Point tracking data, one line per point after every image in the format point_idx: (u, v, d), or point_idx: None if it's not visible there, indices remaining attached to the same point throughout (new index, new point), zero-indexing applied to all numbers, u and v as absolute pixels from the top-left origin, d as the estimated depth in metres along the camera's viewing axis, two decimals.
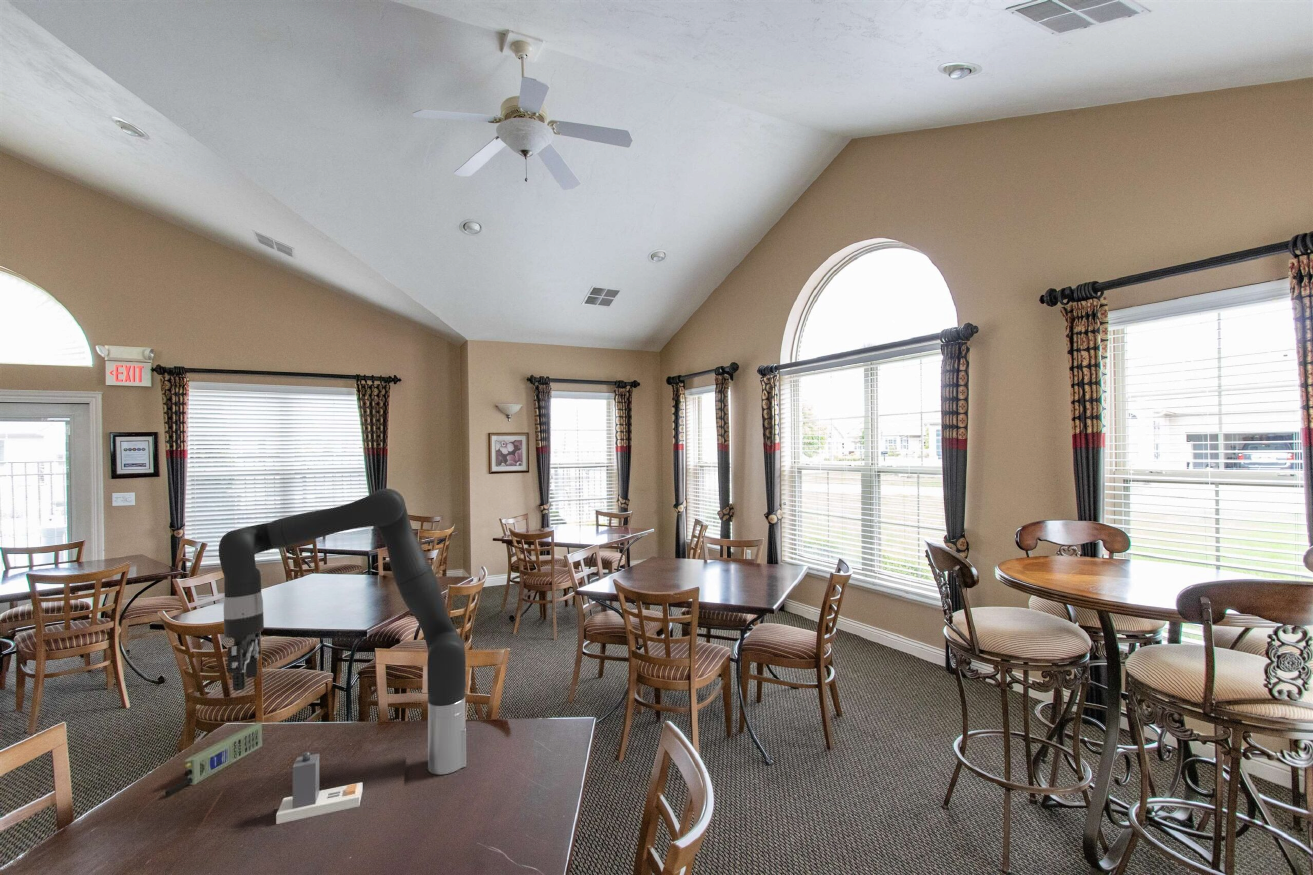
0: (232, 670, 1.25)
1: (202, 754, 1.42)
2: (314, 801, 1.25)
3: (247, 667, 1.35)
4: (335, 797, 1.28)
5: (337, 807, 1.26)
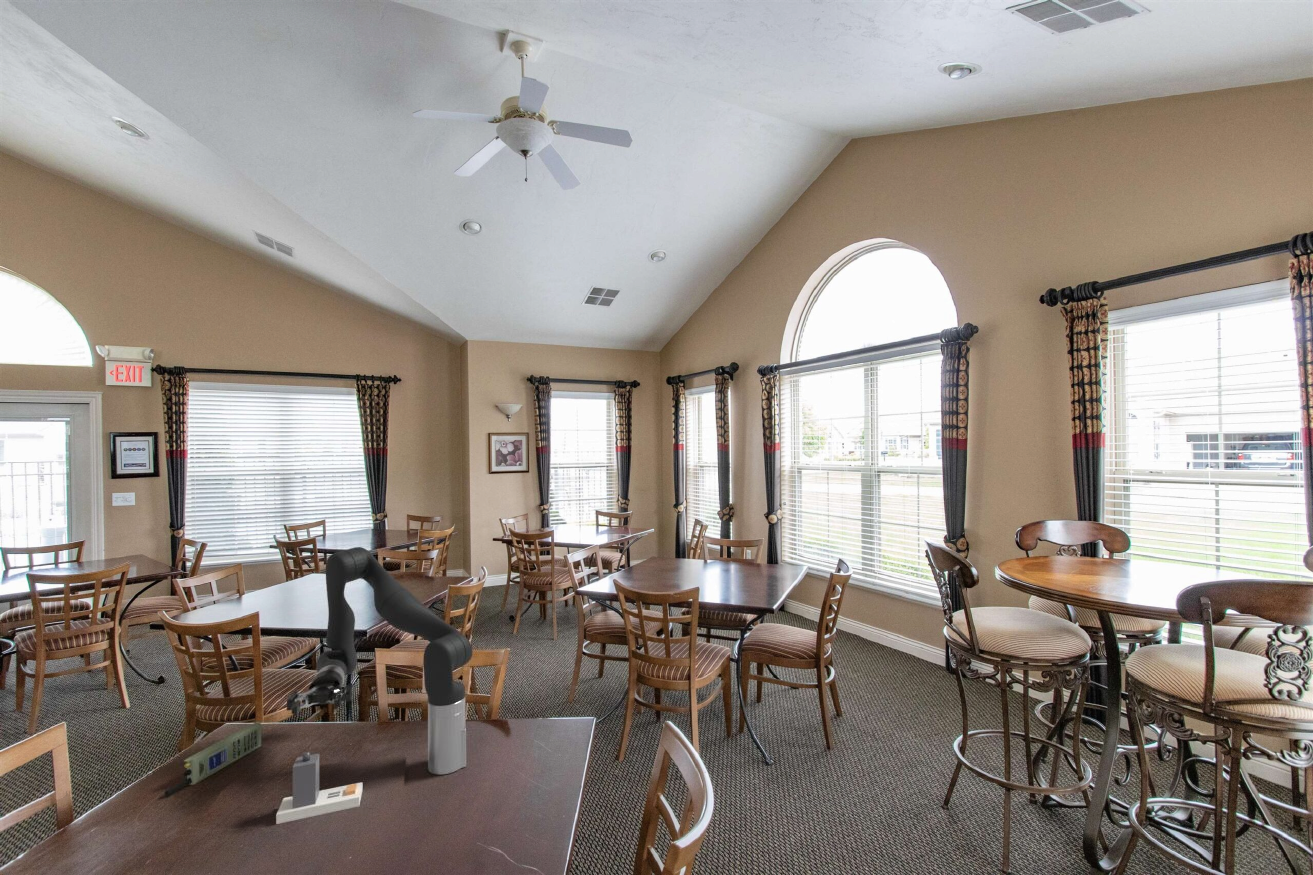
0: None
1: (201, 754, 1.42)
2: (314, 801, 1.25)
3: None
4: (335, 797, 1.28)
5: (337, 807, 1.26)
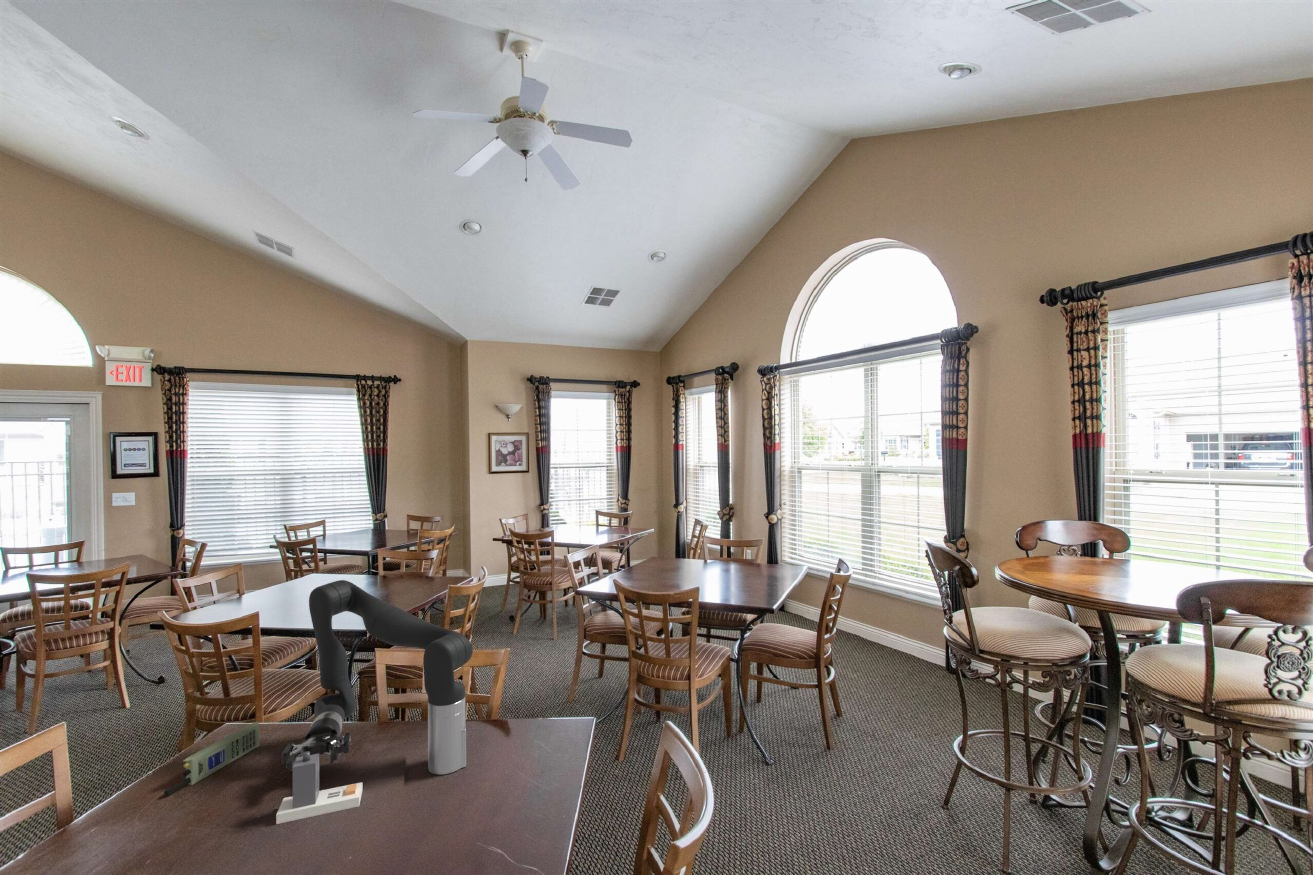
0: None
1: (200, 754, 1.42)
2: (314, 801, 1.25)
3: None
4: (335, 797, 1.28)
5: (337, 807, 1.26)
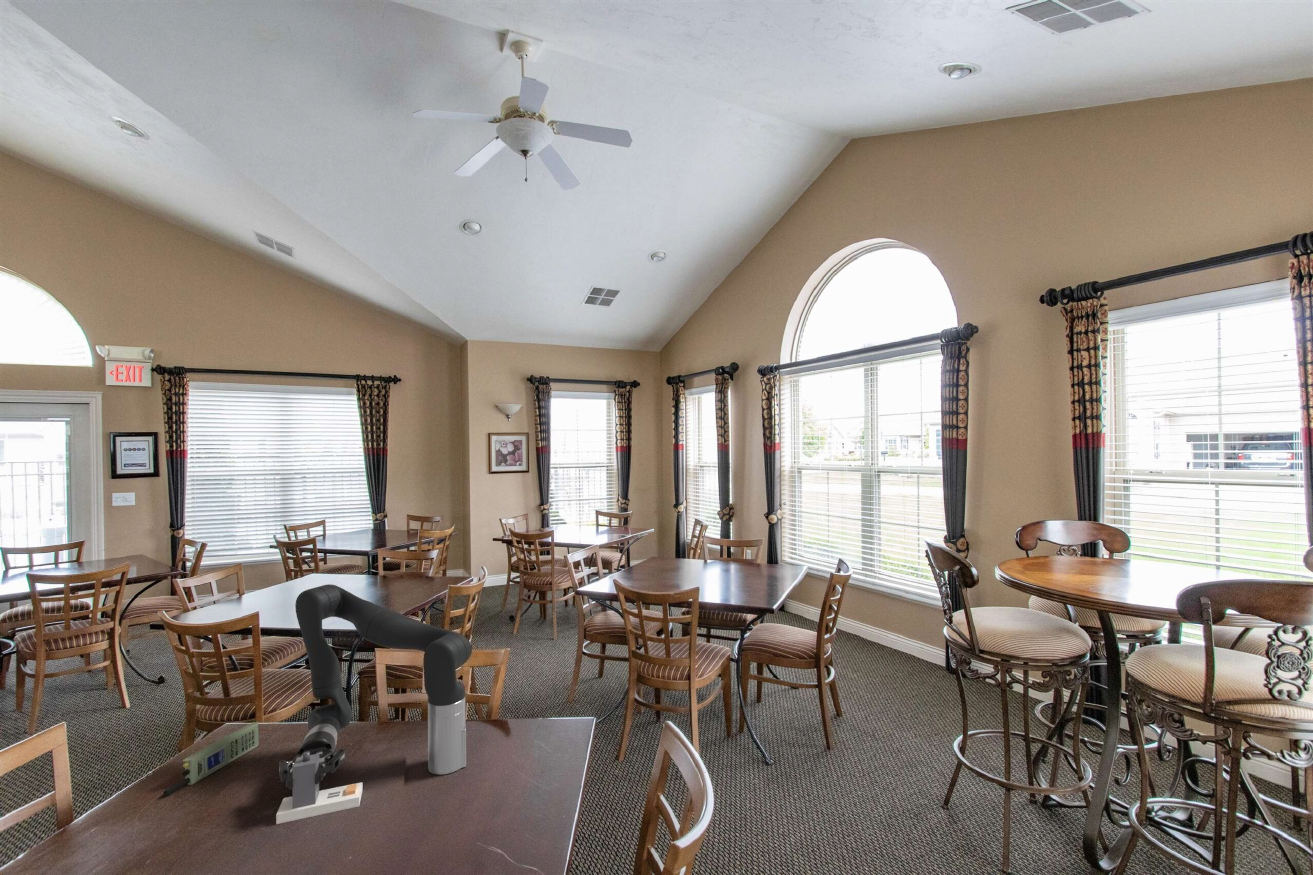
0: None
1: (200, 754, 1.43)
2: (314, 801, 1.25)
3: None
4: (335, 797, 1.28)
5: (337, 807, 1.26)
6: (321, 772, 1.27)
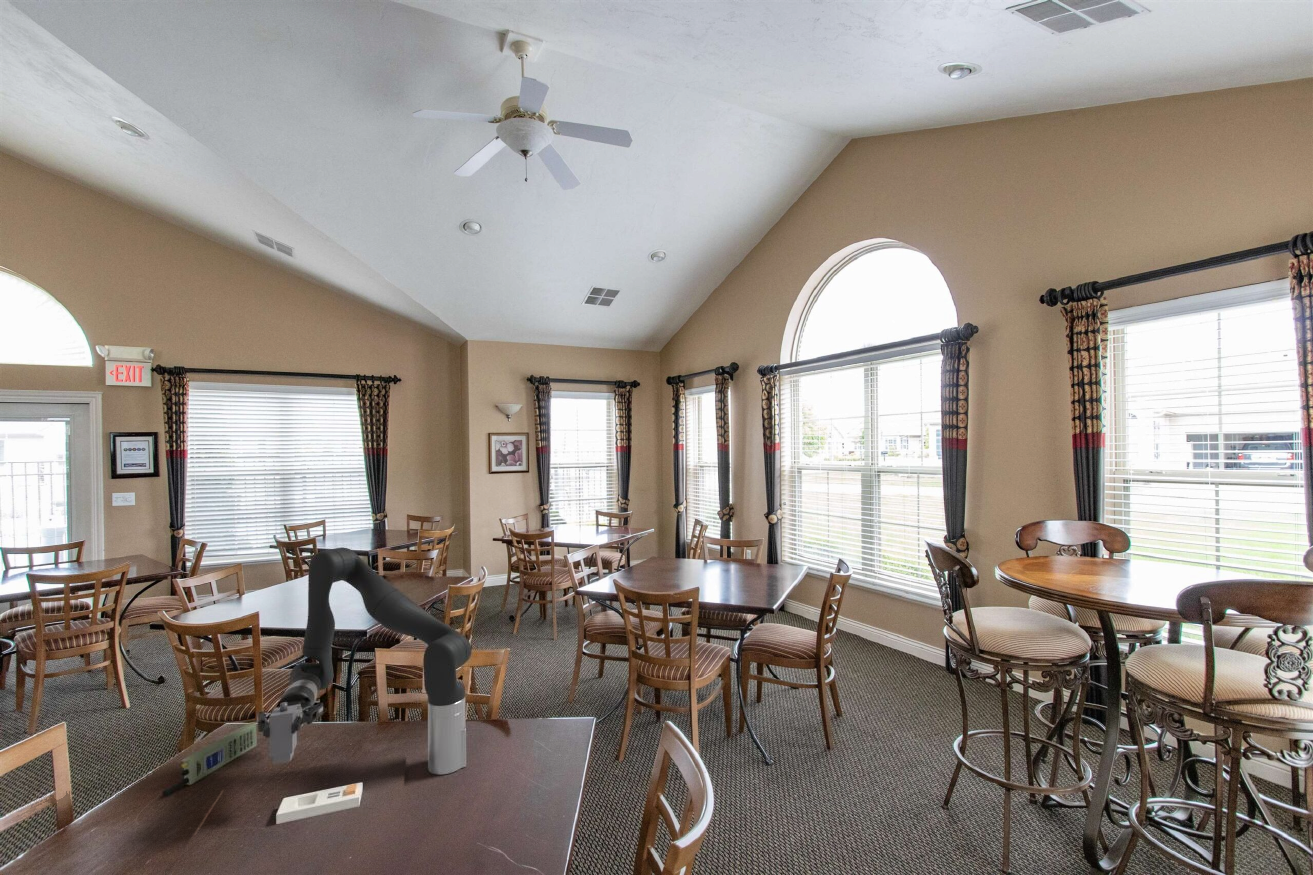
0: None
1: (199, 754, 1.43)
2: (291, 750, 1.27)
3: None
4: (335, 797, 1.28)
5: (337, 807, 1.26)
6: (298, 722, 1.28)
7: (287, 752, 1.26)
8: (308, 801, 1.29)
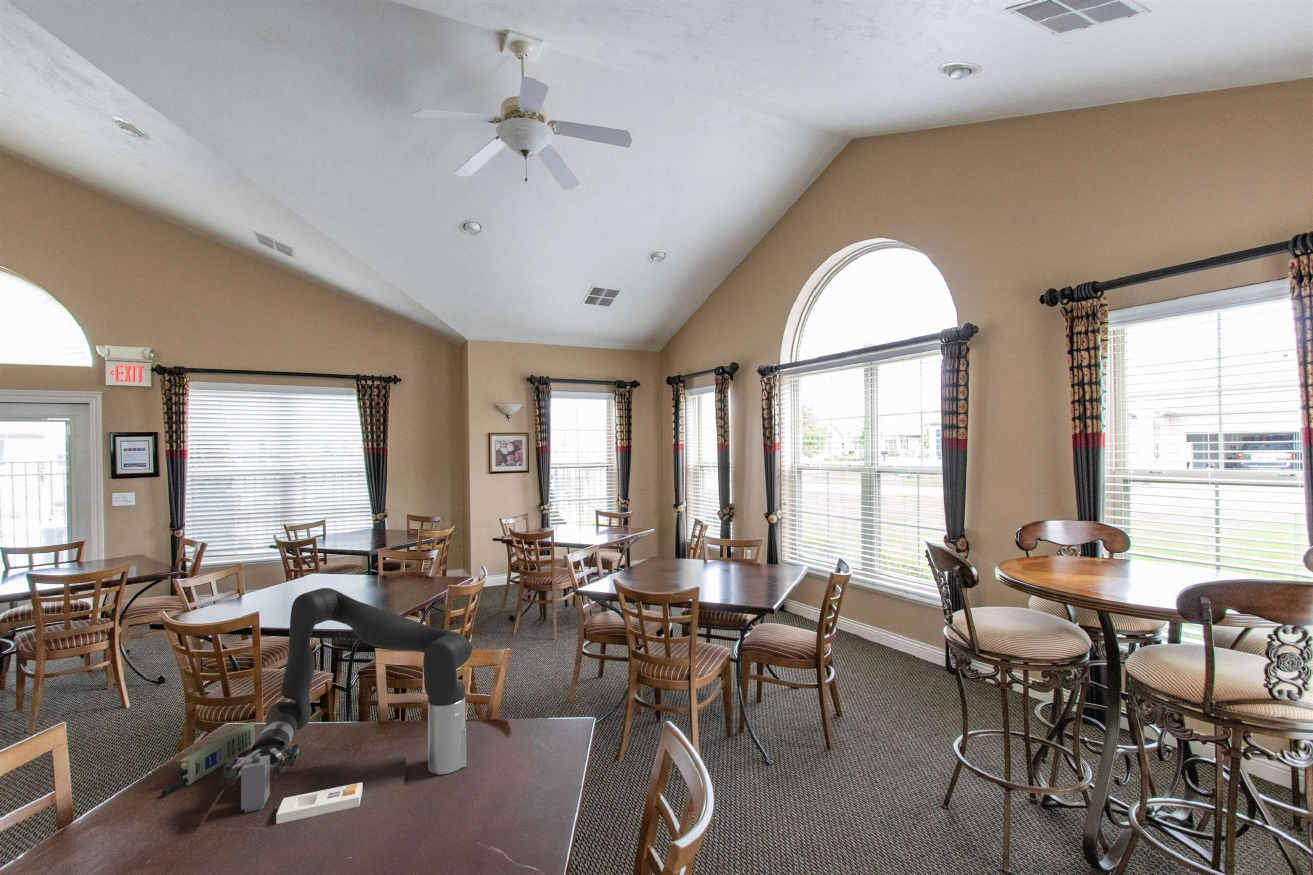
0: None
1: (197, 754, 1.43)
2: (263, 802, 1.27)
3: None
4: (335, 797, 1.28)
5: (337, 807, 1.26)
6: (280, 765, 1.30)
7: (259, 804, 1.27)
8: (308, 801, 1.29)
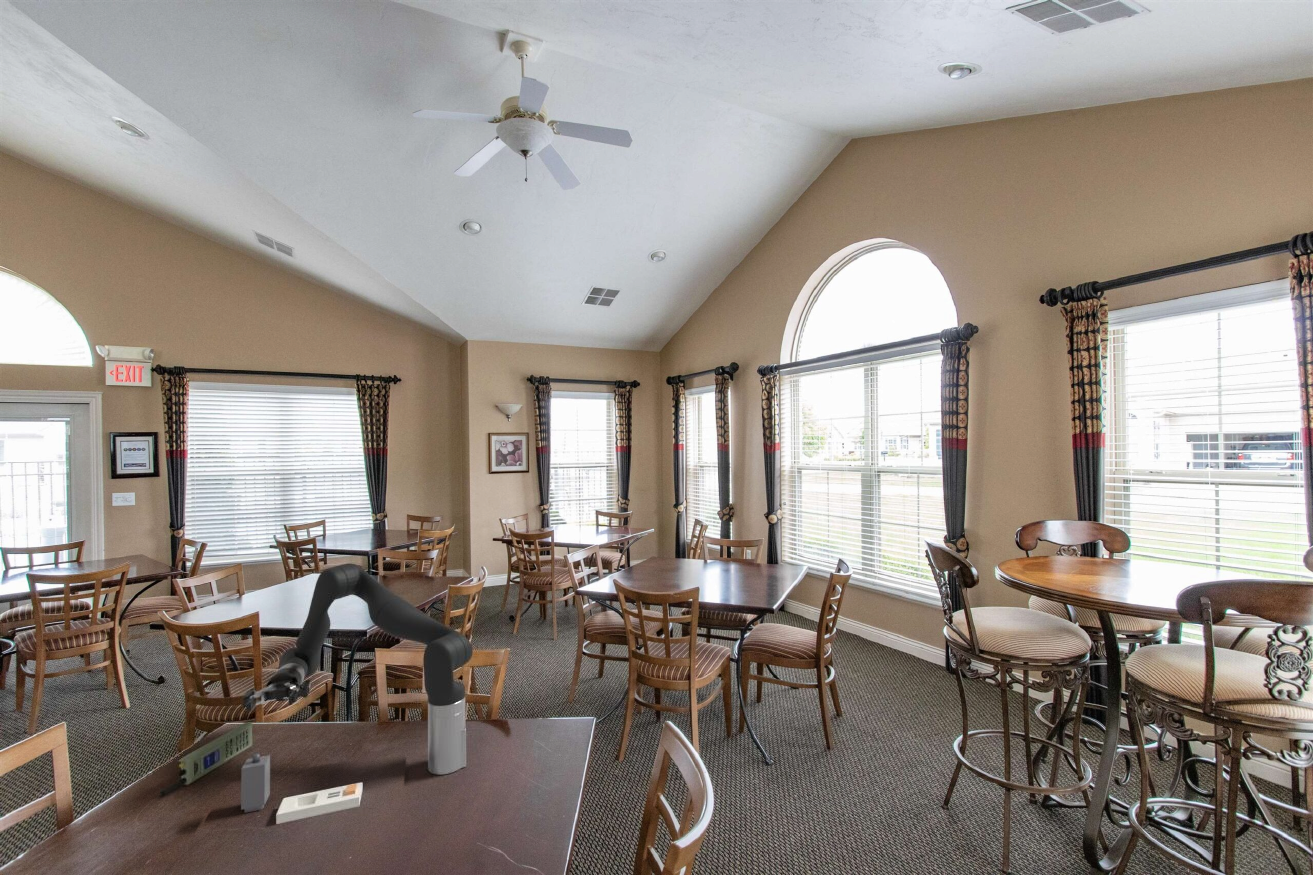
0: None
1: (196, 754, 1.43)
2: (263, 802, 1.27)
3: None
4: (335, 797, 1.28)
5: (337, 807, 1.26)
6: (295, 695, 1.42)
7: (259, 804, 1.27)
8: (308, 801, 1.29)
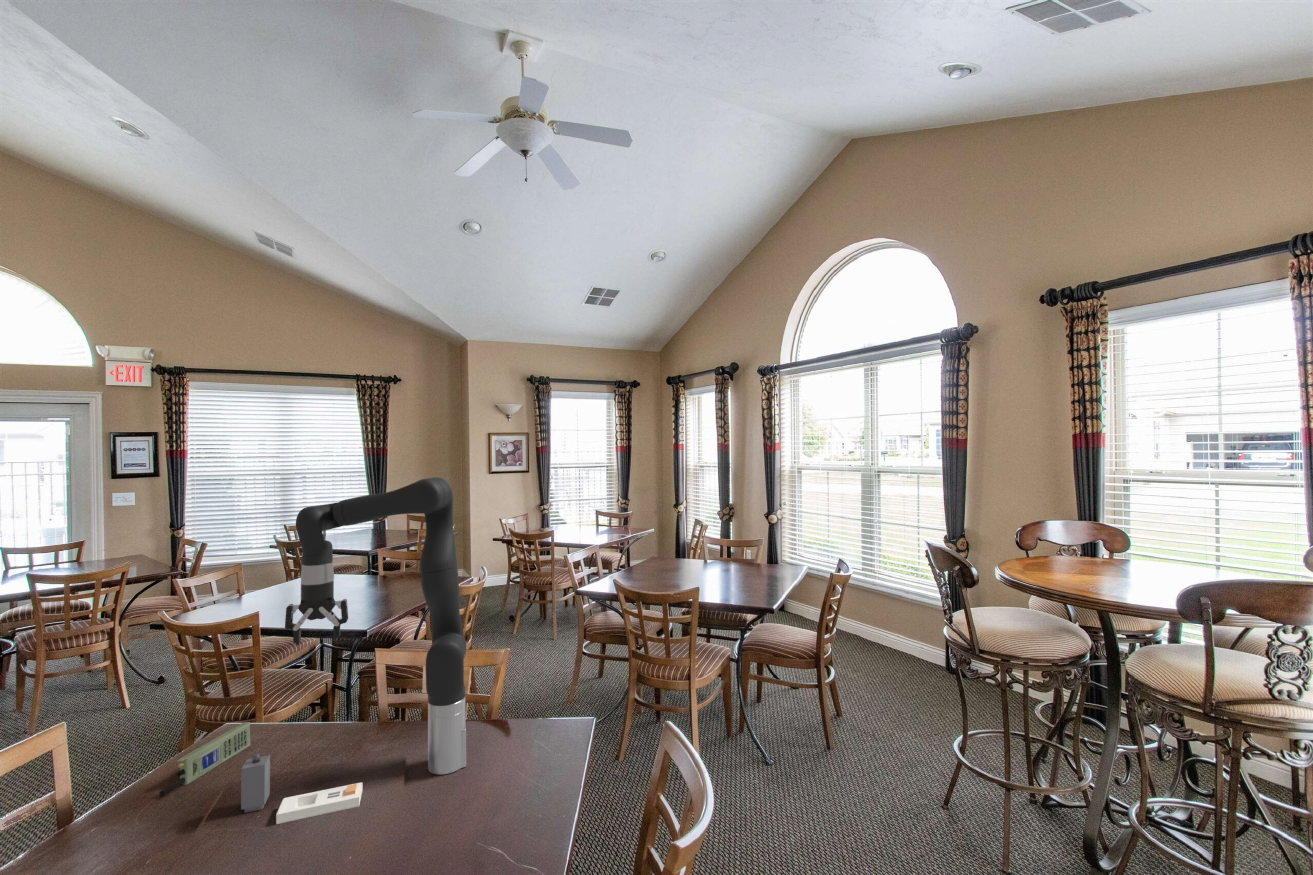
0: None
1: (194, 754, 1.43)
2: (263, 802, 1.27)
3: None
4: (335, 797, 1.28)
5: (337, 807, 1.26)
6: (338, 634, 1.50)
7: (259, 804, 1.27)
8: (308, 801, 1.29)
